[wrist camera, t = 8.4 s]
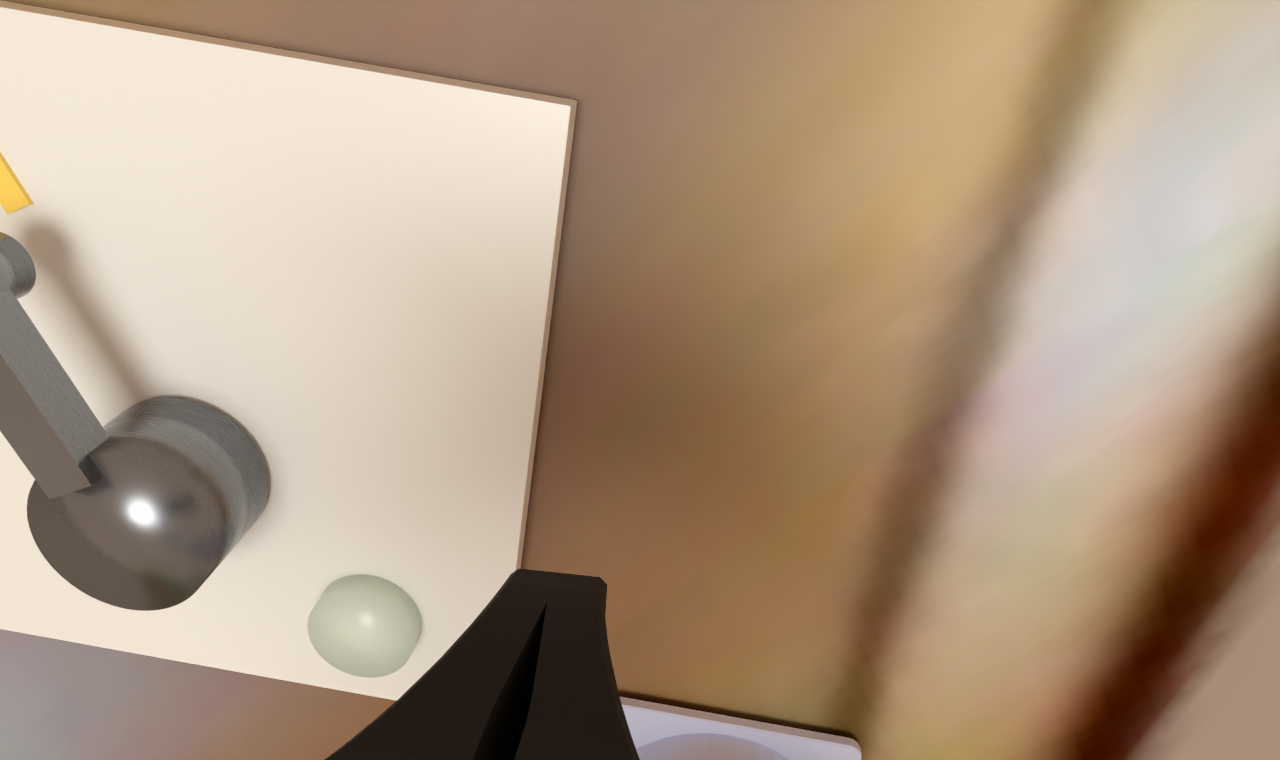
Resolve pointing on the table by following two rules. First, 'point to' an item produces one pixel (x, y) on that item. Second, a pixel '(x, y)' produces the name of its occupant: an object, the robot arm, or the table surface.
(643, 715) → the robot arm
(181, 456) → the grey crank handle
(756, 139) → the table surface
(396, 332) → the white paper sheet
